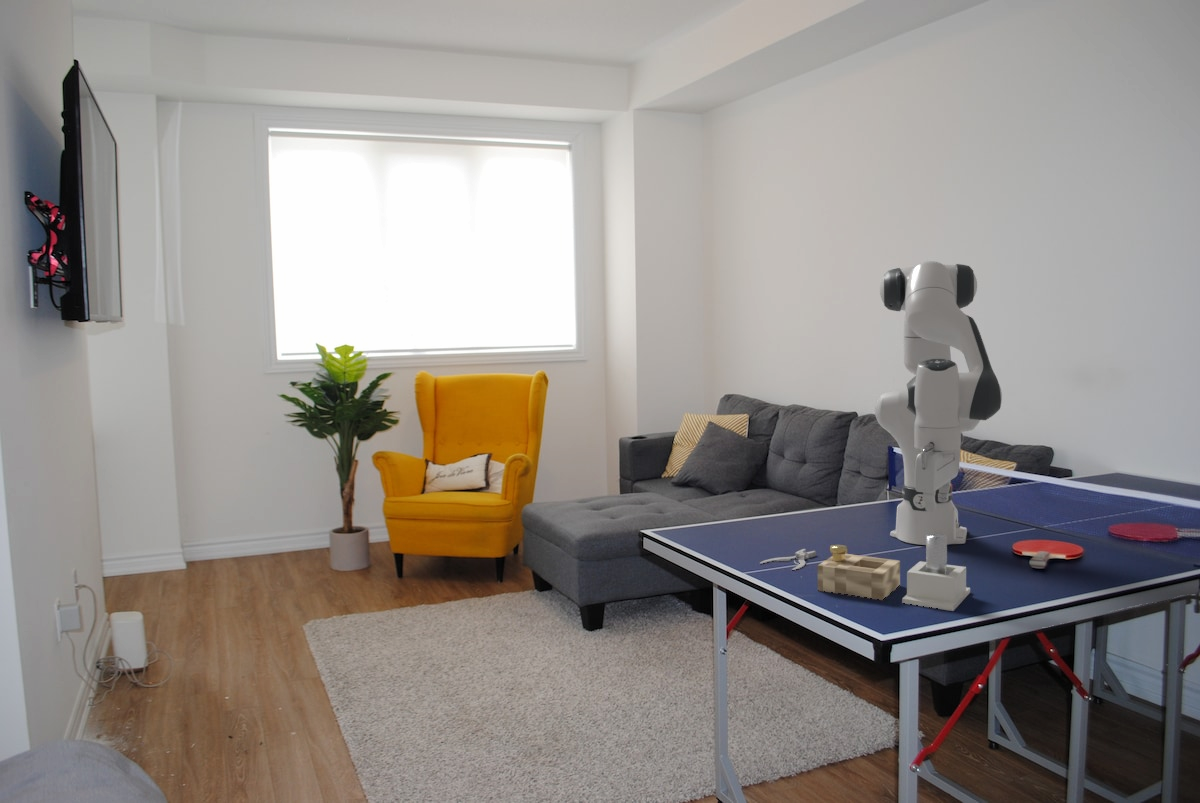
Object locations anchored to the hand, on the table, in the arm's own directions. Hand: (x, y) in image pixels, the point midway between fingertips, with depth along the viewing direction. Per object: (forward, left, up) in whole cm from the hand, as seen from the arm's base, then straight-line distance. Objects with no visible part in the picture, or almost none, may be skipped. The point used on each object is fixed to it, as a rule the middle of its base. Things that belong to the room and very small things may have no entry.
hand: (937, 506), depth 186 cm
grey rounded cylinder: (0, 0, -18) cm, 18 cm away
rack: (0, 0, -19) cm, 19 cm away
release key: (+1, -21, -19) cm, 28 cm away
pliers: (-12, -37, -20) cm, 44 cm away
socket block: (+1, -16, -19) cm, 25 cm away
